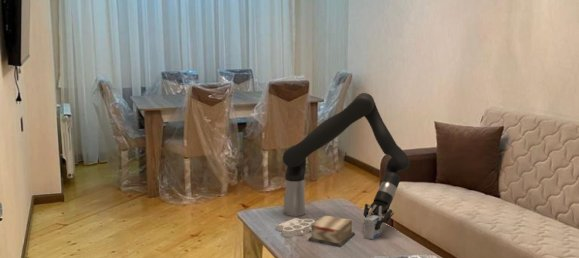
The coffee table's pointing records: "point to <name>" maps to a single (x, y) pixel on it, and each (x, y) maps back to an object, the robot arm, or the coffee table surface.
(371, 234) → the medicine box
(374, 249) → the coffee table surface
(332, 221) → the stand
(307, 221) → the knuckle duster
